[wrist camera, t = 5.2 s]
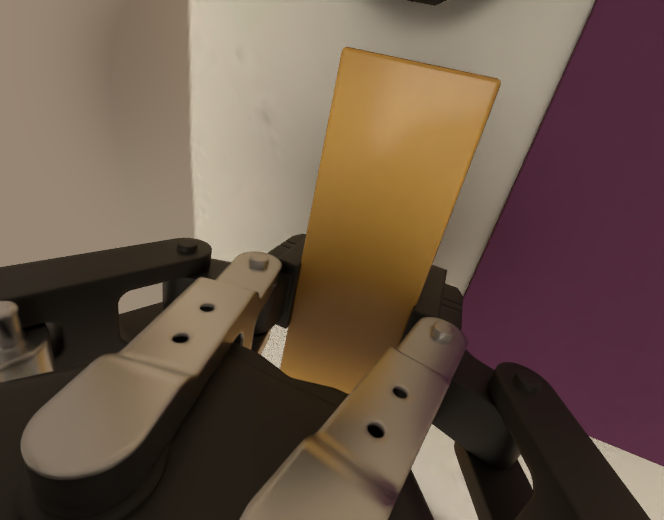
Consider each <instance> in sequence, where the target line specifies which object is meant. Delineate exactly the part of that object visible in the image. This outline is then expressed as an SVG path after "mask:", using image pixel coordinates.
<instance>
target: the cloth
mask: <svg viewBox="0 0 664 520" xmlns="http://www.w3.org/2000/svg"><path fill="white" fill-rule="evenodd" d="M462 306H463V309H462V328H461V331H462V332H463V333H464V334H465V336H466V338H467V340H468V345H467V347H466V349H467V350H468V351H469V353H471V354H472V355H473V356H474V357H475V358H476V359H478V360H479V361H481V362H482V363H484V364H486V365H487V366H489V367H491V368H492V369H494V370H495V368H496V367H497V365H498V364H500V363H503V362H513V363H517V364H520V365H523V366H525V367H527V368H529V369H531V370H533V371H534V372H536V373H537V374H539V375H540V376H542V377H543V378H544V379H545V380H546V381H547V382H548V383H549V384H550V385H551V386H552V388H553V389H554V390H555V392H556V393H557V394H558V396H559V397H560V398H561V400H562V401H563V402H564V404H565V405H566V406H567V408H568V409H569V410H570V412H571V413H572V414H573V416H574V417H575V419H576V420H577V421H578V423H579V424H580V425H581V427H582V428H583V429H584V431H585V432H586V433H587V435H588V436H590V437H593V438H595V439H598V440H600V441H603V442H605V443H608V444H610V445H612V446H615V447H617V448H620V449H622V450H625V451H627V452H630V453H632V454H635V455H637V456H639V457H642V458H644V459H647V460H649V461H652V462H654V463H657V464H659V465H661V466H664V0H596V1H595V3H594V6H593V8H592V10H591V12H590V15H589V17H588V19H587V21H586V24H585V26H584V28H583V30H582V33H581V35H580V37H579V39H578V42H577V44H576V46H575V48H574V50H573V53H572V55H571V57H570V59H569V62H568V64H567V66H566V68H565V71H564V73H563V75H562V77H561V80H560V82H559V84H558V86H557V89H556V91H555V93H554V95H553V98H552V100H551V102H550V104H549V107H548V109H547V111H546V113H545V116H544V118H543V120H542V122H541V125H540V127H539V129H538V131H537V134H536V136H535V138H534V140H533V142H532V145H531V147H530V149H529V151H528V154H527V156H526V158H525V160H524V163H523V165H522V167H521V169H520V172H519V174H518V176H517V178H516V181H515V183H514V185H513V187H512V190H511V192H510V194H509V196H508V199H507V201H506V203H505V205H504V208H503V210H502V212H501V214H500V217H499V219H498V221H497V223H496V226H495V228H494V230H493V232H492V234H491V237H490V239H489V241H488V243H487V246H486V248H485V250H484V252H483V255H482V257H481V259H480V261H479V264H478V266H477V268H476V270H475V273H474V275H473V277H472V279H471V282H470V284H469V286H468V288H467V291H466V293H465V295H464V297H463V305H462Z"/></svg>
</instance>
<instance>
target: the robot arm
mask: <svg viewBox="0 0 664 520" xmlns="http://www.w3.org/2000/svg"><path fill="white" fill-rule="evenodd" d="M305 239H306V234H300V235H295V236H292V237H291V238H289V239H288V240H286V242H283V243H282V244H281V245H279V246H277V247H276V248H274V249H273V250H271V251H270V252H268V253H263V252H246V253H242V254H240V255H239V256H237V257H236V258H235V259H234V260H233V262H226V261H221V260H216V259H211V252H212V248H211V246H210V245H209V244H208V243H206V242H204V241H202V240H198V239H193V238H177V239H170V240H164V241H158V242H152V243H146V244H140V245H134V246H128V247H121V248H115V249H109V250H103V251H97V252H91V253H85V254H79V255H73V256H66V257H60V258H54V259H48V260H42V261H36V262H30V263H24V264H18V265H11V266H6V267H0V520H434V518H433V516H432V514H431V512H430V510H429V507H428V505H427V503H426V501H425V499H424V496H423V494H422V492H421V490H420V488H419V485H418V483H417V481H416V479H415V477H414V474H413V472H412V470H411V467H412V465H413V463H414V461H415V458H416V456H417V454H418V452H419V450H420V448H421V446H422V443H423V441H424V439H425V437H426V435H427V433H428V430H429V428H430V426H431V424H433V425H434V426H436V427H437V428H438V429H440V430H441V431H442V432H444V433H445V434H446V435H448V436H449V437H450V438H452V439H453V440H454V441H455V444H454V449H455V453H456V456H457V459H458V462H459V465H460V468H461V470H462V473H463V476H464V479H465V482H466V485H467V488H468V490H469V493H470V496H471V499H472V502H473V505H474V507H475V510H476V513H477V516H478V519H479V520H651V519H650V518H649V517H648V515H647V514H646V513H645V511H644V510H643V509H642V507H641V506H640V505H639V503H638V502H637V501H636V499H635V498H634V497H633V495H632V494H631V492H630V491H629V490H628V488H627V487H626V486H625V484H624V483H623V482H622V480H621V479H620V478H619V476H618V475H617V474H616V472H615V471H614V470H613V468H612V467H611V466H610V464H609V463H608V462H607V460H606V459H605V458H604V456H603V455H602V453H601V452H600V451H599V449H598V448H597V447H596V445H595V444H594V443H593V441H592V440H591V439H590V437H589V436H588V435H587V433H586V432H585V431H584V429H583V428H582V427H581V425H580V424H579V423H578V421H577V420H576V419H575V417H574V416H573V414H572V413H571V412H570V410H569V409H568V408H567V406H566V405H565V404H564V402H563V401H562V400H561V398H560V397H559V396H558V394H557V393H556V392H555V390H554V389H553V388H552V386H551V385H550V384H549V383H548V382H547V381H546V380H545V379H544V378H543V377H542V376H540V375H539V374H537V373H536V372H534V371H533V370H531V369H529V368H527V367H525V366H523V365H520V364H517V363H513V362H503V363H500V364H498V365H497V367H496V368H495V370H494V369H492V368H491V367H489V366H487V365H486V364H484V363H482V362H481V361H479V360H478V359H476V358H475V357H474V356H473V355H472V354H471V353H469V351H468V350H467V349H466V347H467V345H468V340H467V338H466V336H465V334H464V333H463V332H462V331H461V328H462V309H463V306H462V305H463V296H462V294H461V293H460V291H459V290H458V288H456V287H453V286H450V285H447V284H445V280H446V274H447V270H445V269H442V268H439V267H436V266H434V265H432V266H431V268H430V271H429V273H428V276H427V279H426V281H425V284H424V286H423V289H422V292H421V294H420V297H419V300H418V302H417V305H415V306H414V307H413V310H412V312H411V315H410V318H409V320H408V323H407V325H406V328H405V331H404V333H403V336H402V339H401V341H400V344H399V346H398V347H397V348H396V349H395V348H393V347H392V346H390V347H389V348H388V349H387V350H386V351H385V352H384V353H383V354H382V356H381V357H380V358H379V359H378V360H377V362H376V363H375V364H374V365H373V366H372V368H371V369H370V370H369V371H368V372H367V373H366V375H365V376H364V377H363V378H362V379H361V381H360V382H359V383H358V384H357V385H356V387H355V388H354V389H353V390H352V391H351V393H350V394H347V393H345V392H343V391H341V390H338V389H336V388H333V387H329V386H325V385H320V384H316V383H312V382H308V381H304V380H299V379H295V378H292V377H290V376H288V375H286V374H285V373H284V372H282V371H281V370H280V369H279V368H277V367H276V366H275V365H273V364H272V363H271V362H269V361H268V360H267V359H265V358H264V357H263V356H261V353H262V351H263V349H264V347H265V345H266V343H267V341H268V339H269V337H270V331H271V328H272V327H273V326H274V325H275V324H276V325H279V326H281V327H283V328H287V327H288V326H289V325H290V320H291V315H292V310H293V305H294V300H295V294H296V289H297V284H298V279H299V274H300V269H301V264H302V263H301V259H302V254H303V249H304V244H305ZM162 282H163V302H161V303H157V304H154V305H150V306H147V307H143V308H140V309H136V310H133V311H129V312H126V313H122V314H119V313H118V302H119V299H120V298H121V297H122V295H124V294H125V293H126V292H128V291H130V290H134V289H138V288H142V287H145V286H150V285H154V284H158V283H162ZM520 454H521V455H522V457H523V459H524V461H525V463H526V465H527V467H528V469H529V471H530V473H531V476H532V480H533V489H532V487H531V485H530V483H529V481H528V479H527V477H526V475H525V473H524V471H523V469H522V467H521V465H520V463H519V461H518V457H519V456H520Z"/></svg>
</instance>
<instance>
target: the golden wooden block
mask: <svg viewBox="0 0 664 520" xmlns="http://www.w3.org/2000/svg"><path fill="white" fill-rule="evenodd" d="M499 88H500V80H499V79H497V78H493V77H488V76H483V75H478V74H474V73H469V72H464V71H459V70H455V69H450V68H445V67H440V66H436V65H431V64H426V63H421V62H417V61H412V60H407V59H402V58H397V57H393V56H388V55H383V54H378V53H374V52H369V51H364V50H359V49H355V48H350V47H345V48H343V50H342V53H341V59H340V64H339V69H338V74H337V79H336V84H335V89H334V95H333V100H332V105H331V110H330V115H329V120H328V125H327V131H326V136H325V141H324V146H323V151H322V156H321V161H320V167H319V172H318V177H317V182H316V187H315V192H314V198H313V203H312V208H311V213H310V218H309V223H308V228H307V234H306V239H305V244H304V249H303V254H302V259H301V263H302V264H301V269H300V274H299V279H298V284H297V289H296V294H295V300H294V305H293V310H292V315H291V320H290V325H289V326H288V331H287V336H286V342H285V347H284V352H283V357H282V362H281V367H280V370H281V371H282V372H284V373H285V374H286V375H288V376H290V377H292V378H295V379H299V380H304V381H308V382H312V383H316V384H320V385H325V386H329V387H333V388H336V389H338V390H341V391H343V392H345V393H347V394H350V393H351V391H352V390H353V389H354V388H355V387H356V385H357V384H358V383H359V382H360V381H361V379H362V378H363V377H364V376H365V375H366V373H367V372H368V371H369V370H370V369H371V368H372V366H373V365H374V364H375V363H376V362H377V360H378V359H379V358H380V357H381V356H382V354H383V353H384V352H385V351H386V350H387V349H388V348H389V347H390V346H392V347H393V348H395V349H396V348H397V347H398V346H399V344H400V341H401V339H402V336H403V333H404V331H405V328H406V325H407V323H408V320H409V318H410V315H411V312H412V310H413V307H414V306H415V305H417V302H418V300H419V297H420V294H421V292H422V289H423V286H424V284H425V281H426V279H427V276H428V273H429V271H430V268H431V266H432V263H433V260H434V258H435V255H436V252H437V250H438V247H439V245H440V242H441V239H442V237H443V234H444V232H445V229H446V226H447V224H448V221H449V218H450V216H451V213H452V211H453V208H454V205H455V203H456V200H457V198H458V195H459V192H460V190H461V187H462V184H463V182H464V179H465V177H466V174H467V171H468V169H469V166H470V164H471V161H472V158H473V156H474V153H475V150H476V148H477V145H478V143H479V140H480V137H481V135H482V132H483V129H484V127H485V124H486V122H487V119H488V116H489V114H490V111H491V109H492V106H493V103H494V101H495V98H496V95H497V93H498V90H499Z"/></svg>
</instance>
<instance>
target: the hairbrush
mask: <svg viewBox="0 0 664 520" xmlns="http://www.w3.org/2000/svg"><path fill="white" fill-rule="evenodd" d="M408 1H411V2H418V3H423V4H428V5H434V6H435V5H438V4H440V3H442V2H444V1H446V0H408Z"/></svg>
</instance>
